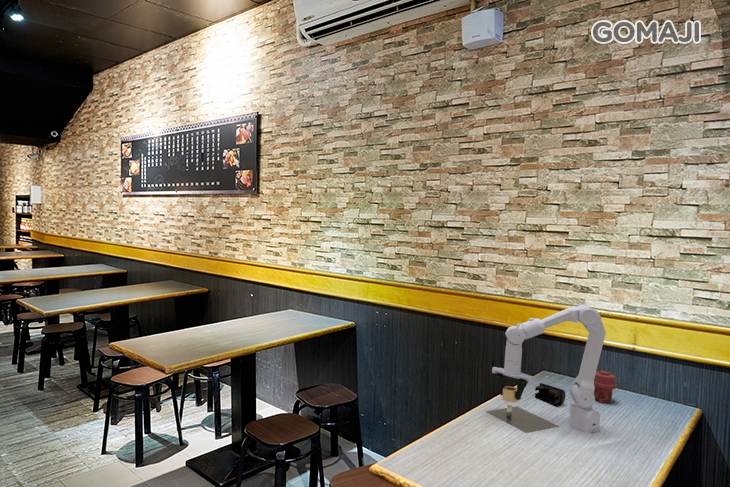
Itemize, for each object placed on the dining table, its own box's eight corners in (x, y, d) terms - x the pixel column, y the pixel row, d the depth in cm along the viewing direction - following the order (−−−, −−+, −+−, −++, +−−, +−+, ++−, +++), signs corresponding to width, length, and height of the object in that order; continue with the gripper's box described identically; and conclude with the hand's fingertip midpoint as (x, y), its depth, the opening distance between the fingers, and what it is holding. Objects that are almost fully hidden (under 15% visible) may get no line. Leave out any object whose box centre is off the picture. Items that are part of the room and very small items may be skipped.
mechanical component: (604, 406, 198) (584, 397, 207) (620, 403, 202) (600, 395, 211) (606, 376, 197) (586, 369, 206) (623, 374, 202) (602, 367, 211)
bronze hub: (520, 401, 174) (521, 390, 174) (508, 402, 172) (509, 391, 172) (511, 396, 179) (512, 385, 179) (499, 397, 177) (500, 386, 177)
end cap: (565, 405, 196) (566, 388, 196) (556, 408, 192) (557, 391, 192) (542, 397, 204) (543, 381, 204) (533, 400, 199) (534, 384, 199)
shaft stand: (559, 430, 169) (560, 415, 169) (525, 437, 162) (527, 421, 162) (516, 410, 187) (517, 396, 187) (484, 415, 179) (486, 400, 179)
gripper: (537, 362, 173) (534, 399, 174) (499, 353, 183) (496, 389, 183) (529, 366, 168) (526, 404, 168) (490, 356, 177) (488, 393, 178)
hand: (510, 397), depth 175 cm, fingers closed on bronze hub, 6 cm apart
